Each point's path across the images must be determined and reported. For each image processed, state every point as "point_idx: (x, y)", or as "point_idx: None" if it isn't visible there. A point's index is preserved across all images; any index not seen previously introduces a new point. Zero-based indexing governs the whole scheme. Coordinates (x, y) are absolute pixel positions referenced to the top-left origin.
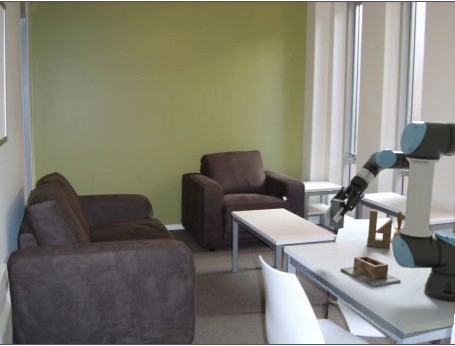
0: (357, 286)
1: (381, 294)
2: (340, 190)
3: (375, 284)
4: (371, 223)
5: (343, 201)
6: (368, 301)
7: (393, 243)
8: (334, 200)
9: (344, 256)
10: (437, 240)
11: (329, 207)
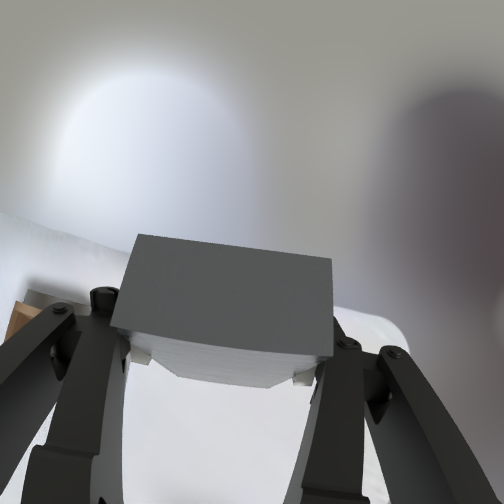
0: (55, 264)
1: (11, 271)
2: (485, 500)
3: (26, 294)
4: None
5: (120, 296)
6: (21, 225)
7: None
8: (253, 251)
9: (244, 449)
10: None
11: (338, 327)
